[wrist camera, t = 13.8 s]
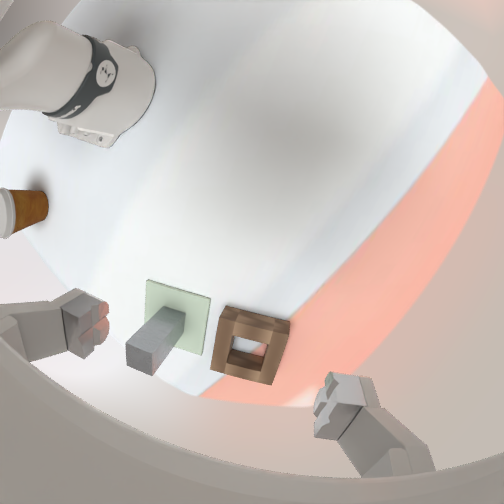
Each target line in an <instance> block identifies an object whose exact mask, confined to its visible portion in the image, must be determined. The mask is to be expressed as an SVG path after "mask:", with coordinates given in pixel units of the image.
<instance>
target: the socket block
mask: <svg viewBox="0 0 504 504" xmlns="http://www.w3.org/2000/svg"><path fill="white" fill-rule="evenodd" d="M289 328H290V322H289V321H285V320H281V319H276V318H272V317H268V316H264V315H260V314H256V313H252V312H248V311H244V310H241V309H237V308H233V307H229V306H225V308H224V310H223V312H222V314H221V315H220V317H219V322H218V327H217V333H216V339H215V344H214V350H213V356H212V361H211V367H210V370H214V371H217V372H220V373H224V374H227V375H231V376H235V377H239V378H242V379H246V380H250V381H254V382H259V383H263V384H267V385H272V383H273V380H274V377H275V375H276V372H277V369H278V366H279V363H280V361H281V358H282V355H283V352H284V349H285V346H286V343H287V340H288V337H289ZM235 336H237V337H241V338H245V339H249V340H253V341H257V342H261V343H265V344H267V348H266V351H265V354H264V357H261V356H257V355H253V354H249V353H245V352H241V351H237V350H234V349H232V346H233V341H234V337H235Z"/></svg>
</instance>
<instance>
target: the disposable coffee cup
mask: <svg viewBox="0 0 504 504" xmlns="http://www.w3.org/2000/svg"><path fill="white" fill-rule="evenodd" d="M47 214H48V200H47V197H46V195H45V193H44V192H42V191H30V190H8V189H5V188H0V238H3V239H7V238H8V237H9V236H11V235H12V234H13V233H15V232H17V231H20V230H22V229H24V228H26V227H28V226H31V225H33V224H35V223H38V222H40V221H43V220H44V219H45V218H46V216H47Z"/></svg>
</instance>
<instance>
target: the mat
mask: <svg viewBox="0 0 504 504" xmlns="http://www.w3.org/2000/svg"><path fill="white" fill-rule="evenodd" d="M210 301H211V298H208V297H204V296H201V295H197V294H194V293H190V292H187V291H184V290H180V289H177V288H174V287H170V286H167V285H164V284H161V283H157V282H154V281H151V280H147V281H146V297H145V323H146V322H147V321H148V320H149V319H150V318H151V317H152V316H153V315H154V314H155V313H156V312H157V311H159V310H160V309H161V308H162V307H163V306H166V307H169V308H172V309H175V310H178V311H181V312H185V313H186V316H185V325H184V333H183V335H182V336H181V337H180V339H179V340H178V341H177V343H176V344H175V346H174V347H177V348H180V349H183V350H186V351H189V352H192V353H195V354H198V355H202V352H203V345H204V339H205V332H206V326H207V319H208V313H209V307H210Z"/></svg>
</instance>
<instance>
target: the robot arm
mask: <svg viewBox="0 0 504 504" xmlns="http://www.w3.org/2000/svg"><path fill="white" fill-rule="evenodd" d="M13 1H14V0H0V21H1V19H2V17H3V16H4V14H5V13H6V11H7V10H8V8H9V7H10V5H11V4H12V2H13ZM154 88H155V75H154V71H153V69H152V67H151V66H150V64H149V63H148V62H146V61H145V60H144V59H143V58H142V57H141V55H140V52H139V49H138V48H137V47H135V46H129V47H126V48H125V47H123V46H121V45H119V44H117V43H115V42H113V41H111V40H105V41H102V42H100V40H98V39H96V38H94V37H90V36H88V35H80V34H78V33H76V32H74V31H72V30H70V29H68V28H66V27H64V26H62V25H60V24H58V23H56V22H53V21H40V22H36V23H34V24H31V25H30V26H28V27H26V28H24V29H23V30H21V31H20V32H19V33H17V34H16V35H15V36H14V37H13V38H12V39H11V40H10V41H9V42H8V43H6V44H5V45H4V46H3V47H2V48H1V49H0V111H1V110H32V111H40V112H42V113H43V114H44V115H47V116H48V118H49V120H50V121H54V122H57V126H58V131H59V133H60V134H64V135H68V136H71V137H74V138H77V139H80V140H83V141H86V142H89V143H92V144H95V145H98V146H100V147H103V148H109V147H111V146H112V145H113V143H114V142H115V141H116V139H117V138H118V136H119V135H120V134H121V133H123V132H124V131H126V130H127V129H129V128H130V127H131V126H133V125H134V124H135V123H136V122H137V121H138V120H139V119H140V118H141V116H142V115H143V114H144V112H145V111H146V109H147V107H148V106H149V104H150V102H151V99H152V96H153V93H154ZM102 138H103V139H102ZM101 139H102V141H101ZM108 313H109V305H108V304H107V302H105V301H103V300H101V299H99V298H97V297H95V296H93V295H91V294H89V293H86V292H85V291H83V290H81V289H77V288H75V289H73V290H71V291H69V292H67V293H65V294H64V295H62V296H60V297H58V298H56V299H55V300H53V301H51V302H49V301H39V302H26V303H12V304H0V504H504V453H500V454H497V455H494V456H492V457H488V458H485V459H482V460H479V461H476V462H472V463H468V464H465V465H461V466H457V467H452V468H448V469H443V470H438V471H436V470H435V466H434V463H433V461H432V457H431V455H430V452H429V449H428V446H427V445H426V444H425V443H424V442H422V441H421V440H420V439H419V438H418V437H417V436H416V435H414V434H413V433H412V432H411V431H410V430H409V429H408V428H406V427H405V426H404V425H403V424H402V423H401V422H400V421H399V420H397V419H396V418H395V417H394V416H393V415H392V414H391V413H389V412H388V411H387V410H386V409H385V408H381V406H380V403H379V400H378V396H377V393H376V390H375V387H374V384H373V381H372V379H371V378H370V377H365V376H354V375H348V374H342V373H336V372H329V374H328V375H327V377H326V378H325V386H324V387H323V388H321V389H320V390H319V392H318V394H317V396H316V399H315V402H314V415H315V416H316V417H317V419H316V421H315V422H314V437H316V438H323V439H329V440H337V441H338V443H339V445H340V446H341V448H342V449H343V451H344V452H345V454H346V455H347V457H348V458H349V460H350V461H351V462H352V464H353V465H354V467H355V468H356V470H357V471H358V472H359V474H360V475H361V478H332V477H316V476H305V475H296V474H288V473H281V472H275V471H269V470H263V469H257V468H253V467H248V466H244V465H239V464H235V463H231V462H227V461H223V460H220V459H216V458H212V457H209V456H206V455H203V454H199V453H196V452H193V451H190V450H187V449H184V448H182V447H179V446H176V445H174V444H171V443H168V442H166V441H163V440H161V439H158V438H156V437H153V436H151V435H149V434H146V433H144V432H142V431H139V430H138V429H136V428H133V427H131V426H129V425H127V424H125V423H123V422H121V421H119V420H117V419H115V418H113V417H111V416H110V415H108V414H106V413H104V412H102V411H101V410H99V409H97V408H95V407H94V406H92V405H90V404H88V403H87V402H85V401H83V400H82V399H80V398H79V397H77V396H76V395H74V394H72V393H71V392H69V391H68V390H66V389H65V388H63V387H62V386H60V385H59V384H58V383H56V382H55V381H53V380H52V379H51V378H49V377H48V376H47V375H45V374H44V373H43V372H41V371H40V370H39V369H37V368H36V367H35V366H33V365H32V364H31V363H30V362H32V361H36V360H39V359H42V358H46V357H49V356H52V355H56V354H59V353H63V352H66V351H67V350H68V351H70V352H72V353H74V354H75V355H77V356H79V357H81V358H83V359H85V358H86V357H87V356H88V355H89V354H90V353H92V352H93V351H94V346H95V345H100V344H101V343H103V342H104V341H105V339H106V337H107V335H108V333H109V321H108V319H107V317H106V316H107V314H108Z"/></svg>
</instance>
